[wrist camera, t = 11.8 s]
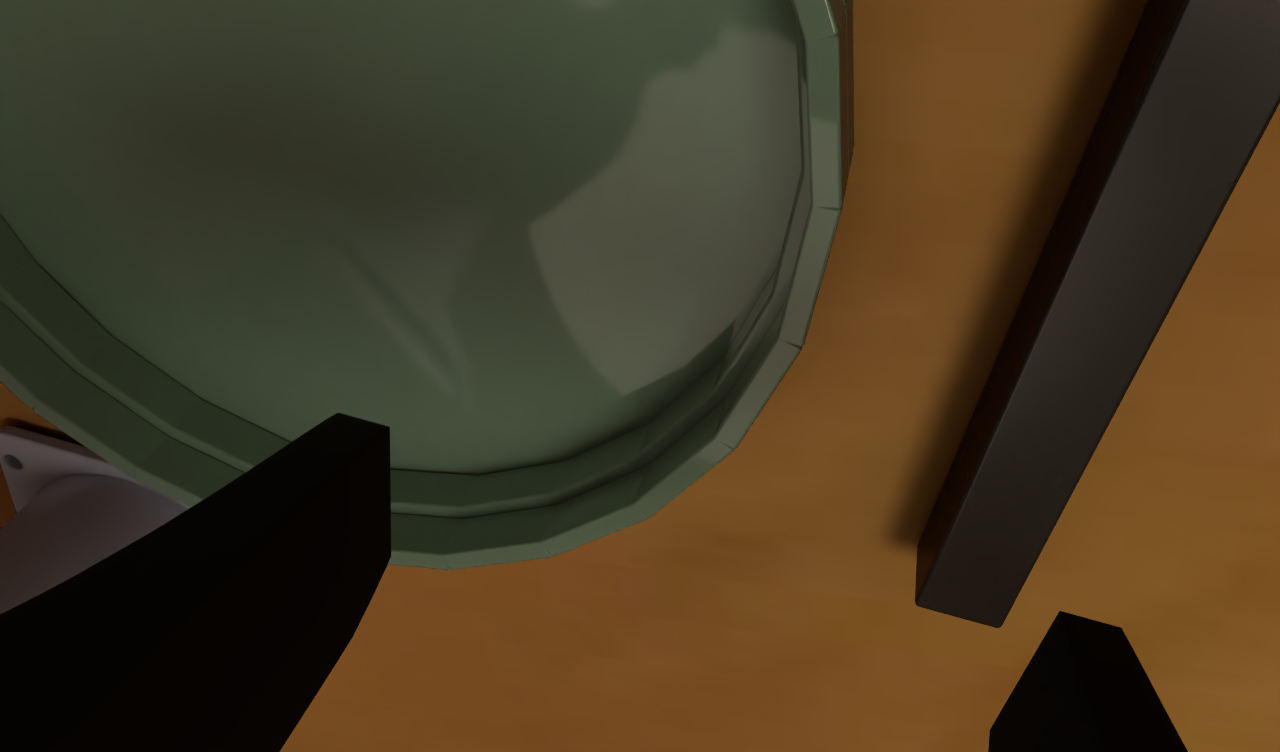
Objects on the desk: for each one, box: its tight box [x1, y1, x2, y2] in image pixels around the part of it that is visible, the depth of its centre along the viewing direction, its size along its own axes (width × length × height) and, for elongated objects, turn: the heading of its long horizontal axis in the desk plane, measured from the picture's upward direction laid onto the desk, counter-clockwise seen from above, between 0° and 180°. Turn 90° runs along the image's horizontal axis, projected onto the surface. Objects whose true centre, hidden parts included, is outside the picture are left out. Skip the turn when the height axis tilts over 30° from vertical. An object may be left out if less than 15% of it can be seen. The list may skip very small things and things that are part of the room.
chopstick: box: [915, 0, 1280, 628], centre depth 17 cm, size 2×16×2 cm, turn 172°
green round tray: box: [0, 0, 854, 570], centre depth 18 cm, size 19×19×4 cm
